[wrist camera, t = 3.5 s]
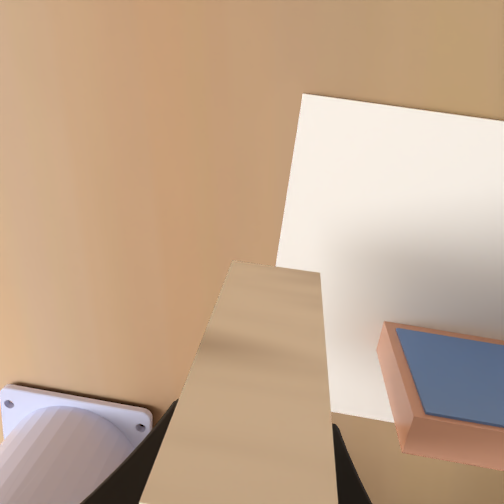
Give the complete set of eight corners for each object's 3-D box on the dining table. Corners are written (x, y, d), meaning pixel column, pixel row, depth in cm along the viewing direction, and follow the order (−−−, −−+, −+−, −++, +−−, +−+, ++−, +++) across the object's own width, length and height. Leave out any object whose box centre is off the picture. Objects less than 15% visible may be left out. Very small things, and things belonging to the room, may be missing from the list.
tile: (559, 380, 20) (656, 497, 15) (376, 350, 21) (402, 452, 15) (573, 350, 20) (680, 459, 14) (384, 319, 20) (414, 413, 14)
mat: (589, 449, 22) (596, 458, 21) (255, 391, 23) (254, 398, 22) (743, 153, 17) (756, 156, 16) (302, 93, 18) (302, 93, 17)
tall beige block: (290, 438, 15) (277, 785, 8) (215, 425, 15) (133, 755, 8) (319, 273, 13) (340, 537, 6) (232, 260, 13) (139, 502, 6)
